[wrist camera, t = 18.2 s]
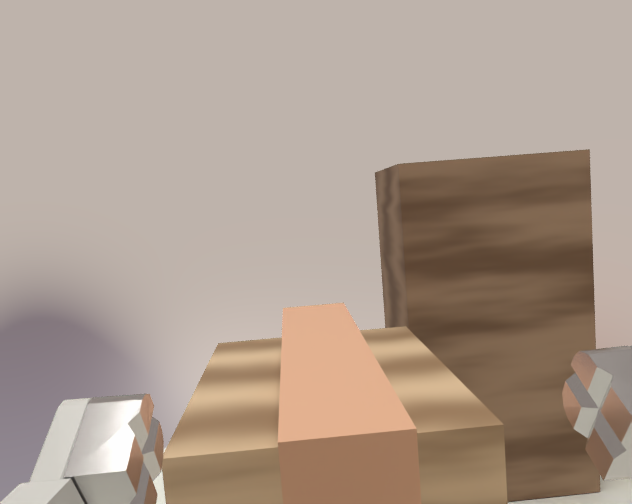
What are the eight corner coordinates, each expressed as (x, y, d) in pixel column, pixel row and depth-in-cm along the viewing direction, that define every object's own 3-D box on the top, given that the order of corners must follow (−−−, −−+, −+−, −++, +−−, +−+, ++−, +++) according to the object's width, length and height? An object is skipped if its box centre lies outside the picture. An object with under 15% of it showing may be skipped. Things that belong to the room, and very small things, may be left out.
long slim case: (423, 527, 16) (416, 428, 15) (286, 542, 15) (277, 442, 15) (346, 346, 35) (343, 302, 35) (286, 352, 35) (283, 308, 35)
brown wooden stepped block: (822, 693, 24) (827, 105, 22) (195, 775, 22) (128, 156, 20) (538, 435, 51) (527, 161, 48) (244, 465, 49) (218, 184, 47)
